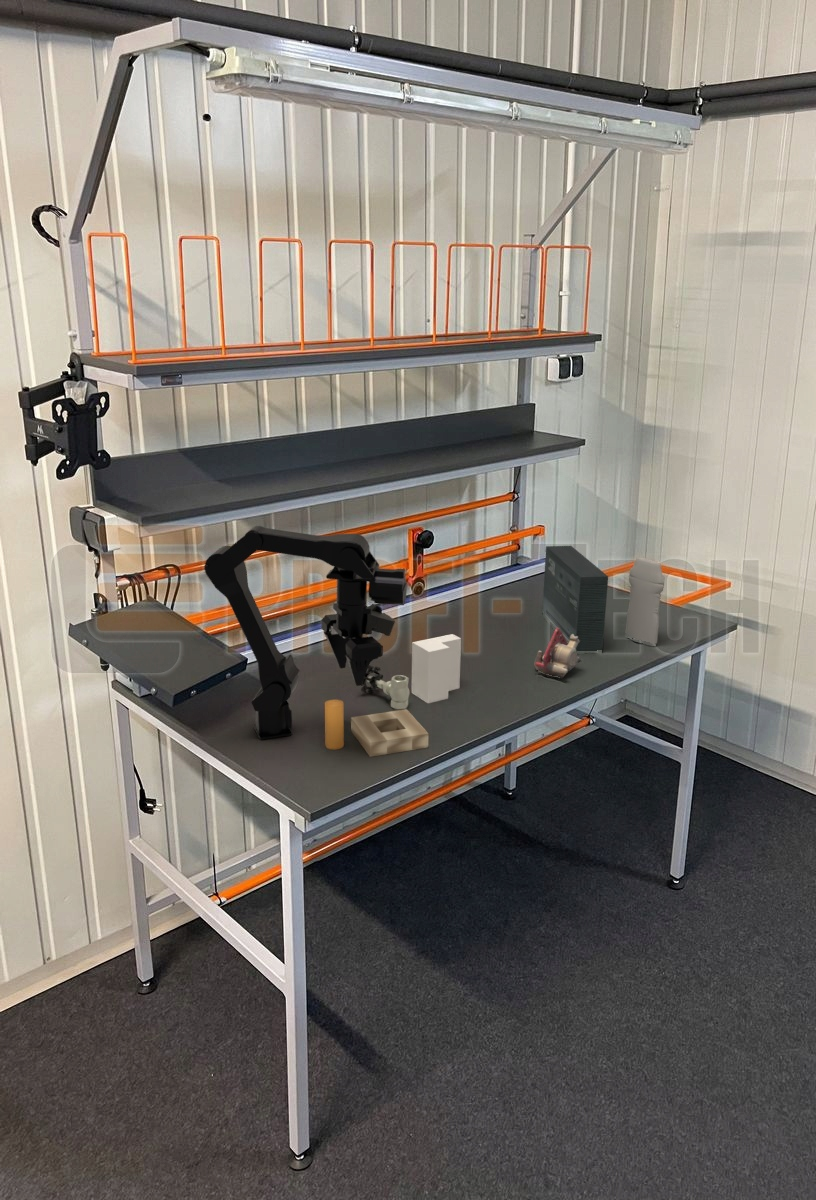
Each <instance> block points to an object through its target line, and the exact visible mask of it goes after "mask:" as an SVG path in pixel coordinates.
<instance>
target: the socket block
mask: <svg viewBox="0 0 816 1200" xmlns="http://www.w3.org/2000/svg"><path fill="white" fill-rule="evenodd" d="M350 731H351V733H352V734H353V736H354V737H355V738H356V740H357V741H358V742H359V744H360V745H361V747H362V748H363V749H364V751H365V752H366V753H367V755H368V756H369V757H370V758H372V757H377V756H385V755H390V754H396V753H397V754H398V753H402V752H409V751H415V750H421V749H426V748H429V732H428V731H427V730H426V729H425V728H424V727H423V726H422V725H421V723H420V722H419V721H418V720H417V719H416V718H415V717H414V716H413V714H412V713H410V711H409V710H408V709H407V708H406V709H396V710H393V711H386V712H380V713H371V714H365V715H358V716H357V715H356V716H352V717H350Z"/></svg>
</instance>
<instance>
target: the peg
mask: <svg viewBox="0 0 816 1200" xmlns="http://www.w3.org/2000/svg"><path fill="white" fill-rule="evenodd" d="M344 715H345V713H344V701H343V700H341V699H335V698H334V699H329V700H326V701H325V702H324V732H325V733H324V739H325V740H324V741H325V743H324V745H325V748H327V749H328V750H341V749H342V748H344V745H345V742H344V740H345V737H344V735H345V732H344V731H345V730H344V729H345V725H344V724H345V723H344Z"/></svg>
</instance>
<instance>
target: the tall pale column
mask: <svg viewBox="0 0 816 1200" xmlns="http://www.w3.org/2000/svg"><path fill="white" fill-rule="evenodd" d="M628 574H629V575H628V580H629V581H628V583H629V584H630V586H629V600H628V602H629V603H628V604H629V605H628V609H627V612H626V621H625V632H624V634H625V633H626V634H627V635H629V636H631V637H633V638H635V639H637V640H641V641H646V642H650V643H654V644H655V643H657V644H658V638H659V637H658V636H659V627H660V626H659V625H660V616H659V615H660V614H659V613H660V605H661V597H662V594H661V593H663V591H664V589H665V587H664V586H665V576H664V575H663V572H662V564H661V563H659V562H657V561H654V560H652V559H650V558H644V557H643V558H641V557H635V560H634V562H633V566H632V567H631V568H630V569H629V573H628Z"/></svg>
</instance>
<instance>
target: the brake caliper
mask: <svg viewBox="0 0 816 1200" xmlns="http://www.w3.org/2000/svg"><path fill="white" fill-rule="evenodd" d="M579 642H580V641H579V639H578V636H576V637H575V636H574V634H572V635H571V636H570V641H569V643H567V641H566V639H565V637H564V635H563V634H562V632H561V631H560V629H559V628H556V629H555V631H554V630H553V634H552V636H551V638H550V640H549V642H548V644H547V648H546V649H545V652H544V653H543V651H542V650H538V651H537V654H536V656H535V659H534V663H533V666H534V668H535V669H536V671H537V670H538V671H541V672H543V673H545V674H549V675H552V676H558V677H560V678H562V679H564V677H565V676H566V675H567V673H569V672H571V670H572V669H573V668H575V667H576V666H577V664H579V663H581V662H583V658H581V657H580V656H578V654H577V651H576V647H577V645H578V643H579ZM568 671H569V672H568ZM545 674H544V675H545ZM560 678H559V679H560Z"/></svg>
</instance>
